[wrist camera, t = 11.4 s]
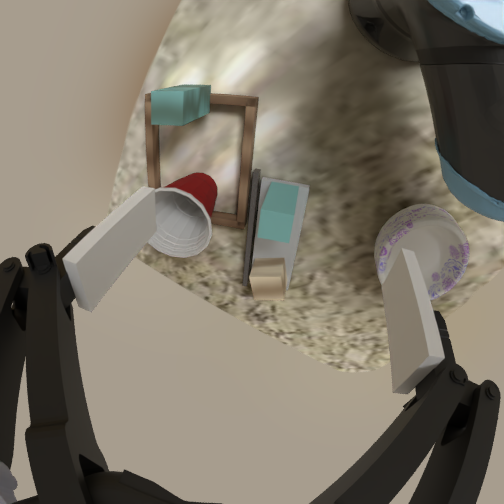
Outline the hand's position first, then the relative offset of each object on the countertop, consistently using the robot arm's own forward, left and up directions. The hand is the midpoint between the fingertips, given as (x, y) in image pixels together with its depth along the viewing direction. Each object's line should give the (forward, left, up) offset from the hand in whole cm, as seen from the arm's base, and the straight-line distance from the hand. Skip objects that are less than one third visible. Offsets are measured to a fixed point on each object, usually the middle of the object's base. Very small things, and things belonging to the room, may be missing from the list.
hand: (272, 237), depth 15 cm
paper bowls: (+13, +21, -29) cm, 39 cm away
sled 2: (+18, -1, -29) cm, 34 cm away
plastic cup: (+12, -14, -29) cm, 35 cm away
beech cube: (+24, -1, -28) cm, 37 cm away
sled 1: (+6, -15, -29) cm, 33 cm away
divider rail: (+18, -5, -29) cm, 35 cm away
